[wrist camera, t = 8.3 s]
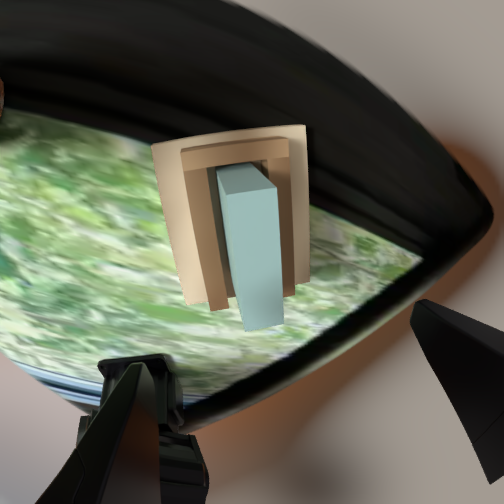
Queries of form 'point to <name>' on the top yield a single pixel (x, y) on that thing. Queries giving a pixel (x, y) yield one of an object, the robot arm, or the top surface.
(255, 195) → the slider block
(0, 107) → the sauce bottle
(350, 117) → the top surface
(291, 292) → the track board
